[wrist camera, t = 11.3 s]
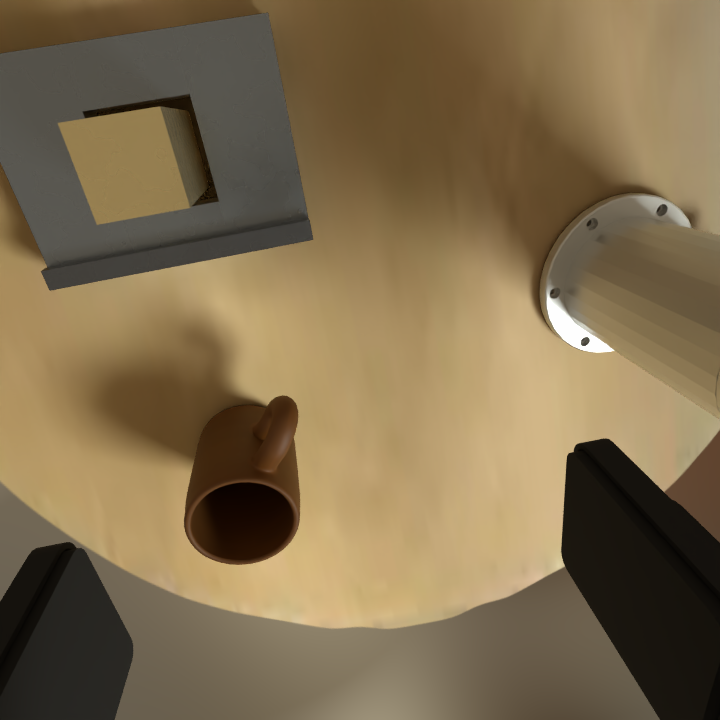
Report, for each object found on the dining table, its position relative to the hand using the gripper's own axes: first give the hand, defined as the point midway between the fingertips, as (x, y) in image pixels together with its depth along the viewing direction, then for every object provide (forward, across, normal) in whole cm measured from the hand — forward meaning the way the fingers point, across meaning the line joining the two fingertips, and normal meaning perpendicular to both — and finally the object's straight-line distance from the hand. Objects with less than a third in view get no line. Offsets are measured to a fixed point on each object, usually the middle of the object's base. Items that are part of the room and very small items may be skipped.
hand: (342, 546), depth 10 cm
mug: (+28, +6, +13) cm, 31 cm away
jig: (+27, +8, -7) cm, 29 cm away
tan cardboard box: (+27, +8, -7) cm, 29 cm away
